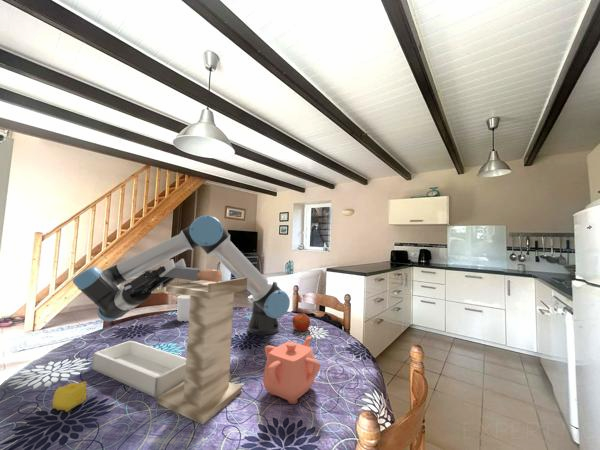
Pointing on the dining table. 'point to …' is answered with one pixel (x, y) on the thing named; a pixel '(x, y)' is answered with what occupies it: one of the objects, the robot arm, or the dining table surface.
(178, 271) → the grey long square-ended piece
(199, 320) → the wooden pedestal stand
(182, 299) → the candle holder
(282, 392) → the teapot
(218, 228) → the robot arm
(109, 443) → the dining table surface
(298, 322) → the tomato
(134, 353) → the tray
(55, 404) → the toy block
